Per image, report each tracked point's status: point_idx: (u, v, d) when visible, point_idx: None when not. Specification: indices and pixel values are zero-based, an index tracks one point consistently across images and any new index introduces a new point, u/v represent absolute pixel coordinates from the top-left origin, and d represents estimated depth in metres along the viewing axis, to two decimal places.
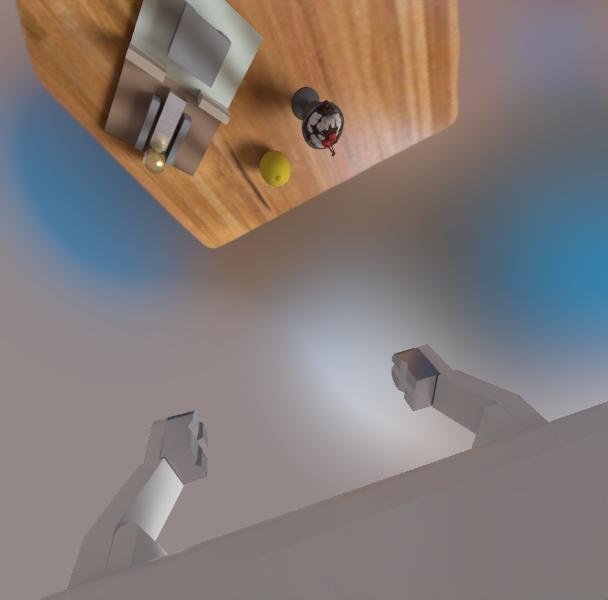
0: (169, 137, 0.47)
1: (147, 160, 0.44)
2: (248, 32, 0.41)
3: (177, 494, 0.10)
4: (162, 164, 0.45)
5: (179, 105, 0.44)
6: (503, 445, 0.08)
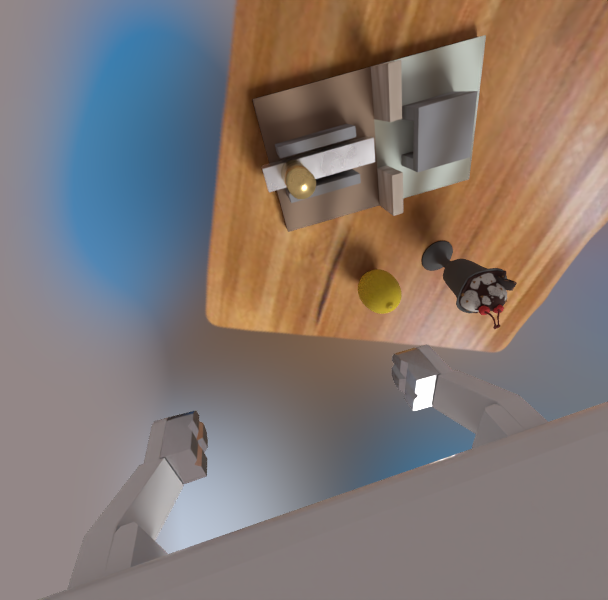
0: (322, 174, 0.32)
1: (301, 171, 0.26)
2: (464, 163, 0.36)
3: (177, 494, 0.10)
4: (311, 191, 0.28)
5: (366, 157, 0.32)
6: (503, 445, 0.08)
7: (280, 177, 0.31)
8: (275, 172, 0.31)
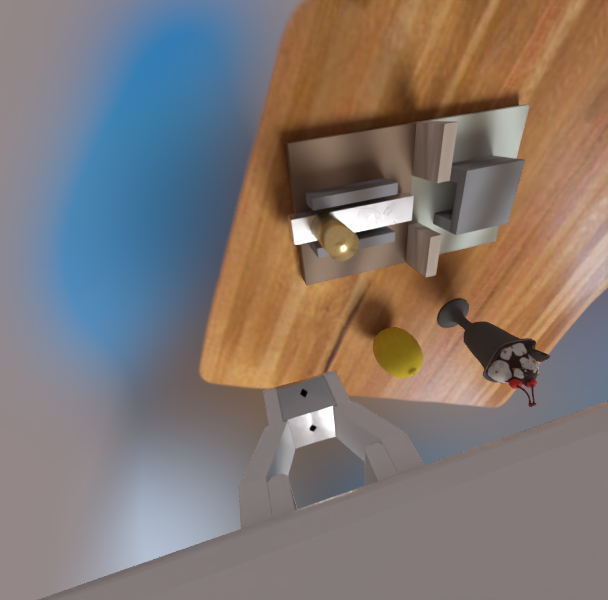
0: (355, 229, 0.28)
1: (345, 231, 0.23)
2: None
3: (292, 457, 0.11)
4: (352, 253, 0.24)
5: (403, 215, 0.29)
6: (503, 445, 0.08)
7: (309, 230, 0.27)
8: (304, 224, 0.27)
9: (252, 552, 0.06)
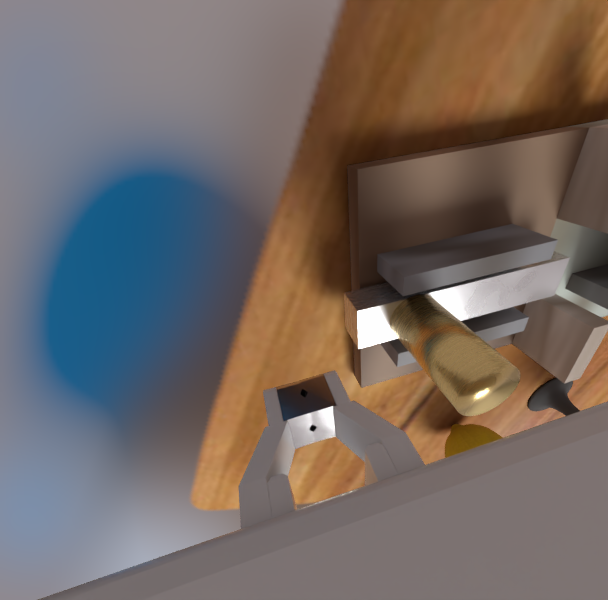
0: (462, 317, 0.16)
1: (500, 369, 0.10)
2: None
3: (292, 457, 0.11)
4: (499, 401, 0.11)
5: (544, 289, 0.16)
6: (503, 445, 0.08)
7: (387, 324, 0.15)
8: (380, 316, 0.14)
9: (252, 552, 0.06)
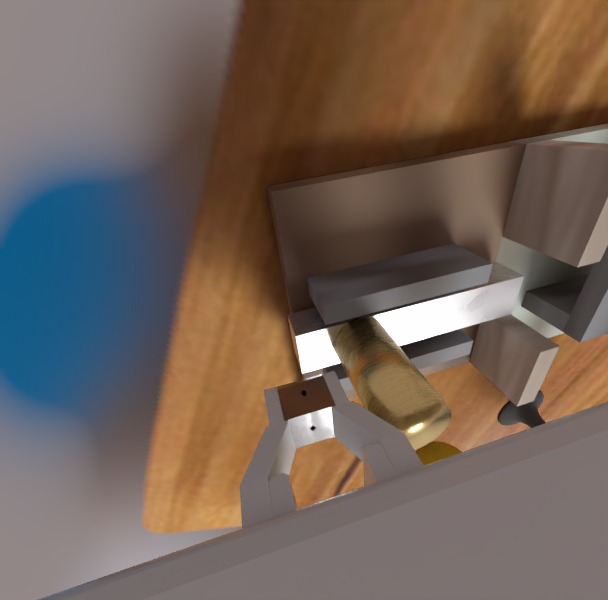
0: (413, 338, 0.15)
1: (426, 407, 0.10)
2: None
3: (293, 457, 0.11)
4: (432, 436, 0.11)
5: (500, 308, 0.16)
6: (503, 445, 0.08)
7: (330, 348, 0.14)
8: (321, 340, 0.14)
9: (252, 552, 0.06)
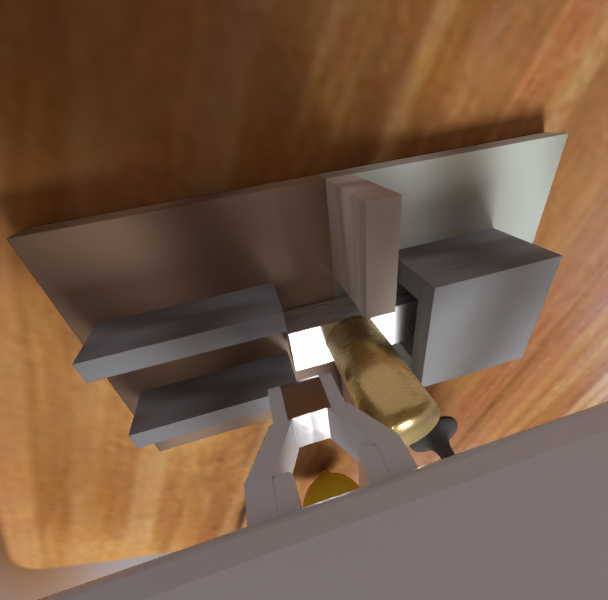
0: (407, 336, 0.15)
1: (414, 404, 0.10)
2: None
3: (296, 456, 0.11)
4: (422, 434, 0.11)
5: None
6: (503, 445, 0.08)
7: (323, 346, 0.14)
8: (314, 338, 0.14)
9: (252, 552, 0.06)
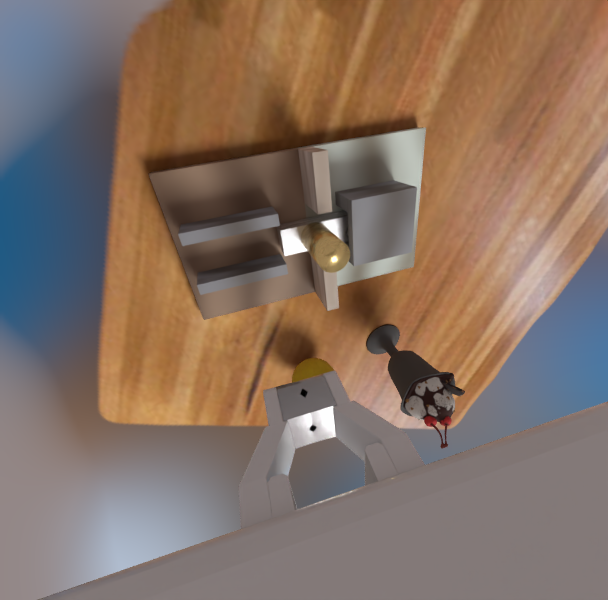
0: (346, 239, 0.28)
1: (335, 242, 0.22)
2: None
3: (292, 457, 0.11)
4: (343, 264, 0.23)
5: None
6: (503, 445, 0.08)
7: (299, 240, 0.26)
8: (294, 235, 0.26)
9: (252, 552, 0.06)
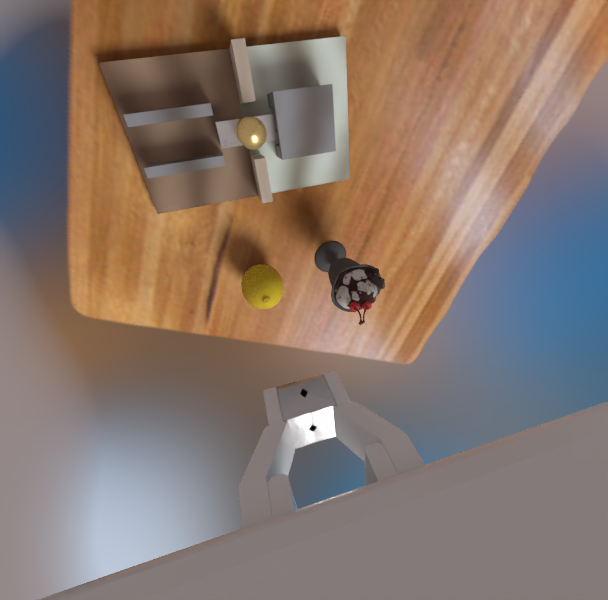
0: (277, 137, 0.32)
1: (252, 118, 0.26)
2: (342, 162, 0.37)
3: (292, 457, 0.11)
4: (261, 142, 0.27)
5: None
6: (503, 445, 0.08)
7: (233, 134, 0.31)
8: (228, 127, 0.30)
9: (252, 552, 0.06)
